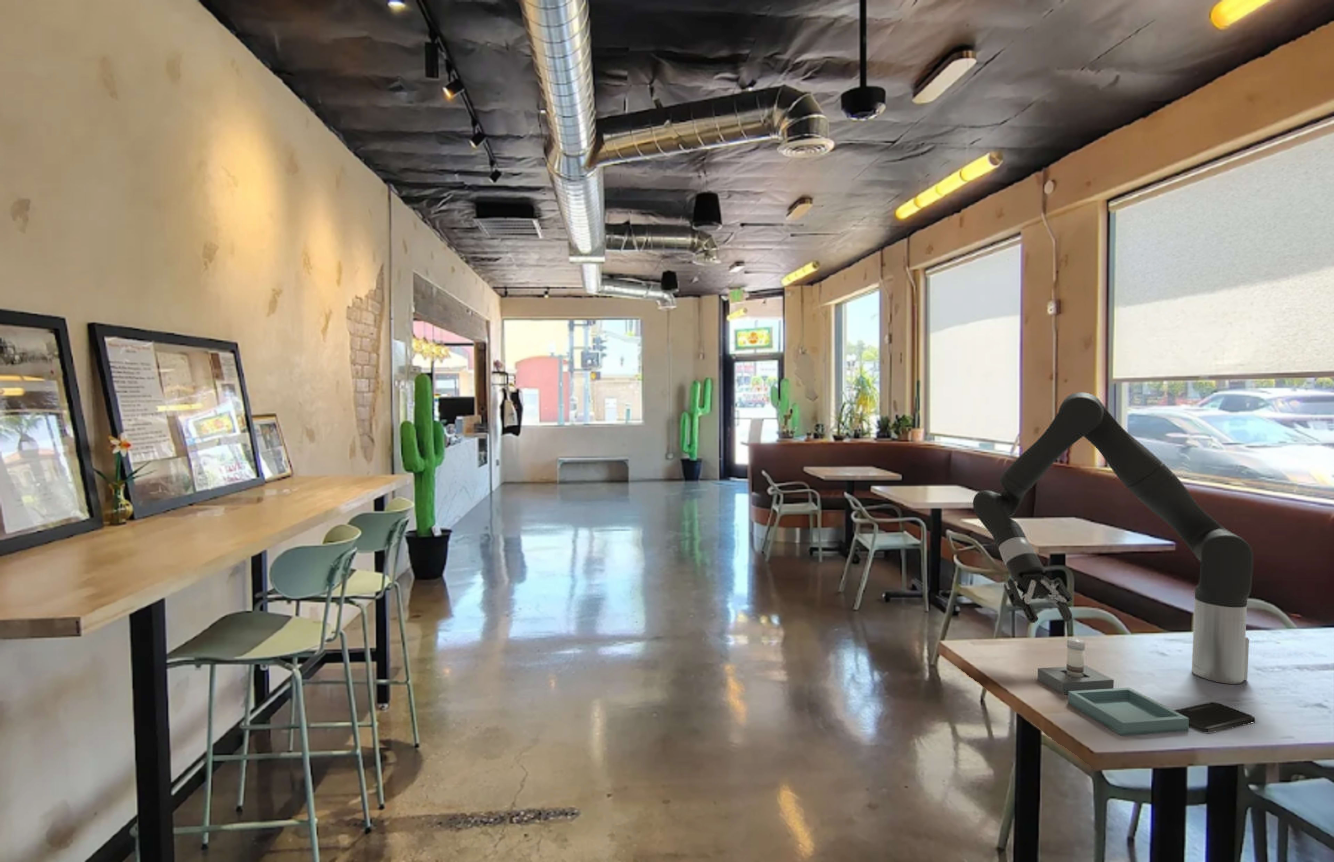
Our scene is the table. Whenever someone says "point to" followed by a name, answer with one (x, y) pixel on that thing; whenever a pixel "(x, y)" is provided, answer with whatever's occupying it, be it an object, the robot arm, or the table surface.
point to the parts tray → (1128, 711)
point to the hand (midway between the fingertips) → (1052, 620)
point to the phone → (1214, 717)
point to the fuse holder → (1074, 680)
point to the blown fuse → (1075, 657)
